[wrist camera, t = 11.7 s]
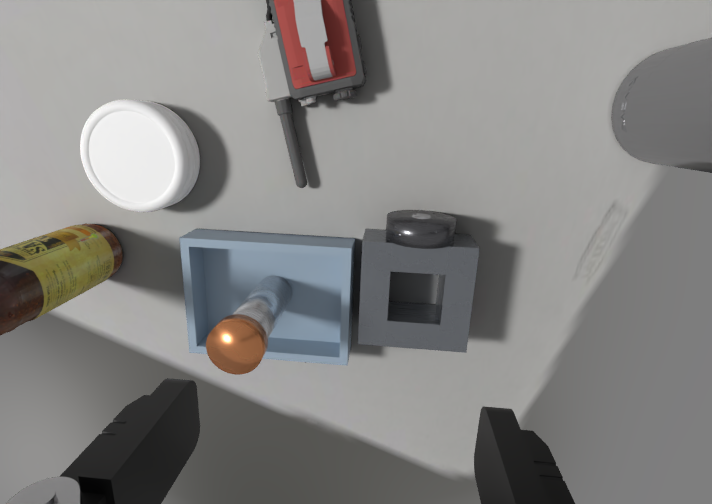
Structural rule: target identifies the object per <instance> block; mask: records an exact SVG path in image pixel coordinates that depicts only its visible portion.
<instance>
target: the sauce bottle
mask: <svg viewBox="0 0 712 504" xmlns="http://www.w3.org/2000/svg"><path fill="white" fill-rule="evenodd" d="M122 255H123V252H122V249H121V245H120V243H119V242H118V240H117V238H116V237H115V235H114V234H113V233H112V232H111V231H109V230H108V229H106V228H104V227H103V226H100V225H96V224H83V225H74V226H70V227H67V228H64V229H61V230H58V231H55V232H52V233H49V234H46V235H43V236H39V237H36V238H33V239H30V240H27V241H24V242H21V243H18V244H15V245H12V246H9V247H6V248H3V249H1V250H0V335H2V334H4V333H6V332H10V331H12V330H14V329H15V328H16V327H18V326H19V325H22V324H23V323H25V322H27V321H31V320H34V319H36V318H38V317H39V316H41V315H43V314H45V313H47V312H49V311H50V310H52V309H54V308H56V307H58V306H60V305H61V304H63V303H65V302H67V301H69V300H71V299H72V298H74V297H76V296H78V295H80V294H82V293H84V292H85V291H87V290H89V289H91V288H93V287H94V286H96V285H98V284H100V283H102V282H103V281H105V280H106V279H107V278H109V277H111V276H112V275H113V274H114V273H116V272H117V270H118V269H119V267H120V265H121V263H122V259H123V256H122Z"/></svg>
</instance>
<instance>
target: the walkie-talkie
mask: <svg viewBox="0 0 712 504" xmlns="http://www.w3.org/2000/svg"><path fill="white" fill-rule="evenodd" d="M350 1H351V0H266V2H267V15H266V18H267V21H266V22H264V25H265V29H266V30H265V33H264V36H263V39H262V42H261V44H260V47H259V50H258V57H259V61H260V65H261V69H262V73H263V77H264V82H265V86H266V97H267V101H271V102H275V105H276V109H277V113H278V115H279V116H280V119H281V123H282V127H283V131H284V135H285V139H286V143H287V148H288V152H289V156H290V160H291V164H292V168H293V172H294V176H295V181H296V184H297V186H298V187H300V188H304V187H305V186H306V185H307V179H306V175H305V170H304V166H303V162H302V157H301V153H300V149H299V145H298V140H297V136H296V132H295V127H294V123H293V119H292V114H291V113H292V108H291V104H290V99H289V98H294V99H297V100H299V102H301V106H307V105H310V104H311V103H315V102H316V98H315V97H317V96H322V95H326V94H330V93H335V92H336V93H335V94H334V95H333V98H334V100H335V101H338V100H345V99H349V98H352V97H356V96H357V92H356V90H354V89H353V88H357V87H361V86H364V84H365V81H366V78H365V74H366V68H365V63H364V61H363V60H362V56H361V51H360V50H361V48H362V46H361V41H360V36H359V34H358V35H357V29H356V26H355V23H354V22H355V19H354V17H353V15H354V13H353V11H352V4H351V2H350ZM272 15H273V18H272ZM272 20H273V21H274V22H273V21H272Z"/></svg>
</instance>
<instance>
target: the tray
mask: <svg viewBox="0 0 712 504" xmlns="http://www.w3.org/2000/svg"><path fill="white" fill-rule="evenodd" d="M180 249H181V260H182V272H183V283H184V295H185V306H186V317H187V329H188V340H189V352H190V353H201V354H207V350H206V340H207V337H208V335H209V333H210V332H211V331H212V329H213V328H214V327H215V326H216V325H217V324H218V323H219V322H220V321H221V320H222V319H223V318H225V317H227V316H229V315H232V314H233V313H234V312H235V311H236V310H237V308H238V307H239V306H240V305H241V304H242V303H243V301H244V300H245V299H246V298H247V297H248V296H249V294H250V293H251V292H252V291H253V290H254V289H255V287H256V286H257V285H258V284H259V283H260V282H261V280H262V279H264V278H265V277H267V276H272V275H275V276H280V277H282V278H284V279H285V280H286V281H287V282H288V283H289V284H290V286H291V288H292V298H291V301H290V302H289V304H288V306H287V307H286V309H285V311H284V312H283V314H282V316H281V318H280V319H279V321H278V323H277V324H276V326H275V328H274V329H273V331H272V333H271V334H270V336H269V338H268V347H267V350H266V352H265V354H264V356H263V358H262V359H274V360H287V361H299V362H311V363H323V364H336V365H348V360H349V354H350V349H351V331H352V305H353V279H354V253H355V238H343V237H327V236H310V235H293V234H276V233H260V232H243V231H226V230H209V229H195V230H193V231H191V232H189V233H187V234H186V235H184V236H182V237H180Z"/></svg>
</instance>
